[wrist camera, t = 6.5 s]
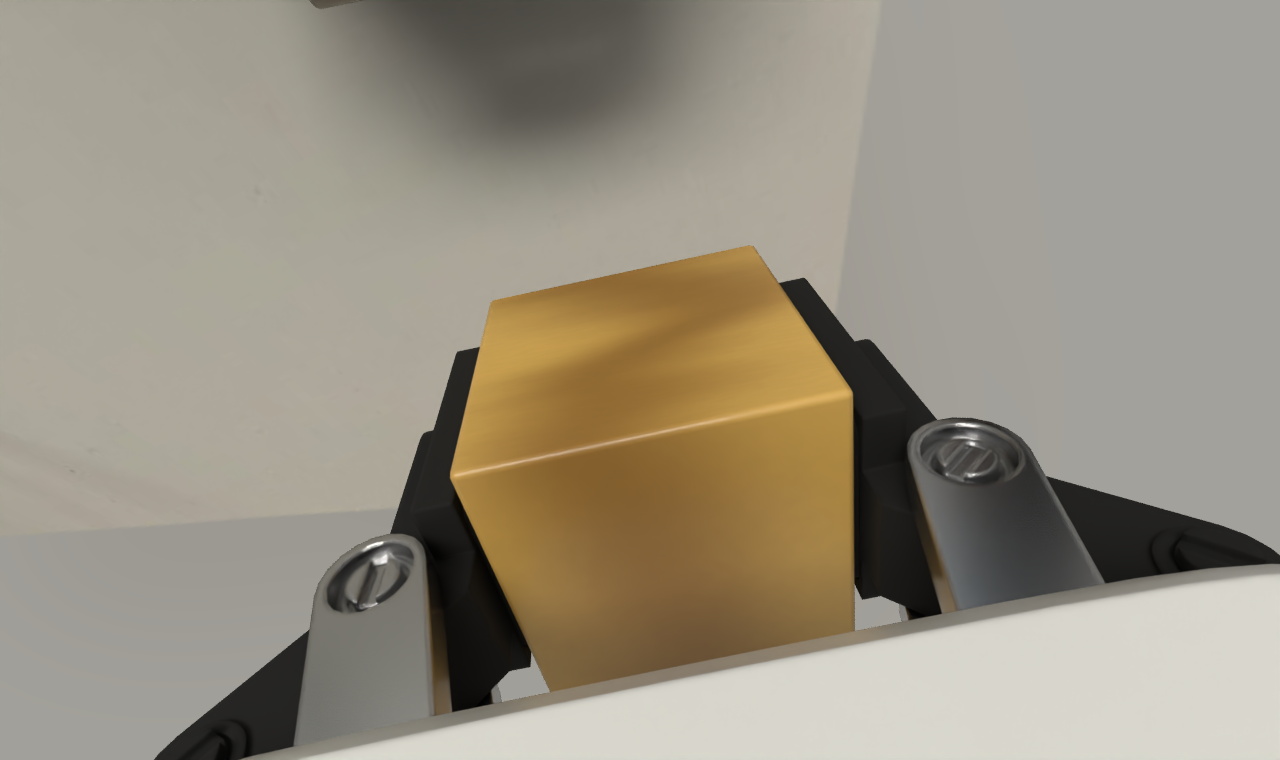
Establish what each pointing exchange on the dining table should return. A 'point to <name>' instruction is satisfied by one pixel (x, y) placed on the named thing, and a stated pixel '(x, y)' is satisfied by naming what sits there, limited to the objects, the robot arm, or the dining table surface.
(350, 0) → the drawer
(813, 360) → the block
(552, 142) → the dining table surface
